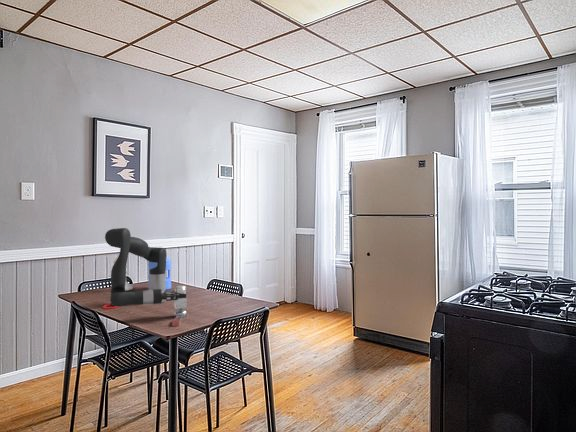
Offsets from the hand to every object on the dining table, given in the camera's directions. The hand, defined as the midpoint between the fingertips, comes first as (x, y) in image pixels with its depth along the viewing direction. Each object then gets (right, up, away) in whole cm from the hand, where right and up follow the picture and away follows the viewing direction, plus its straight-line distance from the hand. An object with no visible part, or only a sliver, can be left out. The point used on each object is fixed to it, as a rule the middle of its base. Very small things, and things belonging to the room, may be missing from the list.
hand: (185, 294), depth 222 cm
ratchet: (-1, -11, -8) cm, 14 cm away
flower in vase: (-59, -10, +66) cm, 89 cm away
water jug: (-36, -10, +72) cm, 81 cm away
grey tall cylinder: (-2, -6, -1) cm, 7 cm away
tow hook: (-47, -11, +18) cm, 52 cm away
